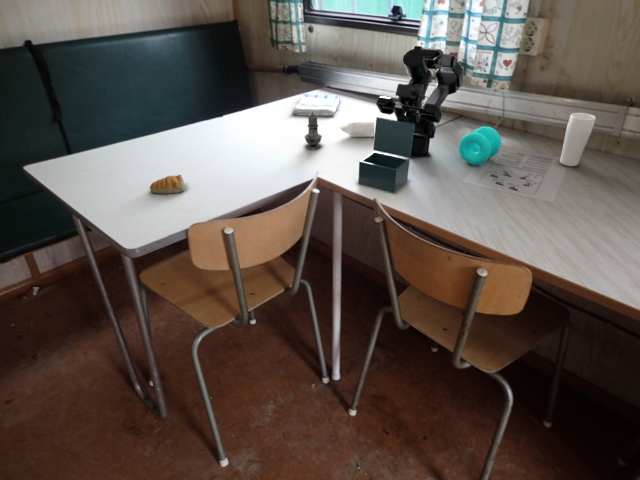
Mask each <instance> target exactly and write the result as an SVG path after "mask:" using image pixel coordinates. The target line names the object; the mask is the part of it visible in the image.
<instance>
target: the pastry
mask: <svg viewBox="0 0 640 480" xmlns="http://www.w3.org/2000/svg"><path fill="white" fill-rule="evenodd" d="M149 190H150V191H151V192H152V193H154V194H159V195H160V194H164V195H165V194H174V193H176V194H179V193H181V192H184V191H185V181H184V178H183V176H182V174H180V173H179V174H178V175H166V176H165V177H163V178H160V179H157V180H155V181H154V182H152V183H151V184H150V185H149Z"/></svg>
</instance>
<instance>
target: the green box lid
mask: <svg viewBox="0 0 640 480" xmlns="http://www.w3.org/2000/svg"><path fill="white" fill-rule="evenodd" d="M414 128H415V124H412V123H406V122H401V121H397V120H395V119H389V118H384V117H379V116H378V117H376V119H375V126H374V137H373V148H372V149H373V151H375V152H379V153H384V154H388V155H393V156H397V157H402V158H407V159H410V158H411V149H412V142H413V135H414Z"/></svg>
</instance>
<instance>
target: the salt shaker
mask: <svg viewBox="0 0 640 480" xmlns="http://www.w3.org/2000/svg"><path fill="white" fill-rule="evenodd" d="M307 127H308V133H307V134H305V135H304V139H305V142H306V145H305V148H306V149H307V150H319V149H321V148H322V144H320V143H321V141H322V137H323V136H322V134H320V133H319V131H318V130H319V129H318V128H319V124H318V115H314V114H313V112H312V114H311V115H308V124H307Z"/></svg>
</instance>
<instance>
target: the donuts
mask: <svg viewBox="0 0 640 480" xmlns="http://www.w3.org/2000/svg"><path fill="white" fill-rule="evenodd" d="M501 147H502V138H501V135H500V134H499V132H498V131H497V130H496V129H495V128H493V127H491V126H486V125H484V126H479V127H477V128H476V129H475V130H473V132H469V133H466V134H465V135H464V136H463V137H462V138H461V140H460V141H459V145H458V152H459V155H460V157H461V159H462V160H464V162H466V163H468V164H469V165H473V166H478V165H481V164H484V163H485V162H486V161H487V160H488V159H489V158H492V157H495V156H496V155H498V153H499V151H500V149H501Z"/></svg>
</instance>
